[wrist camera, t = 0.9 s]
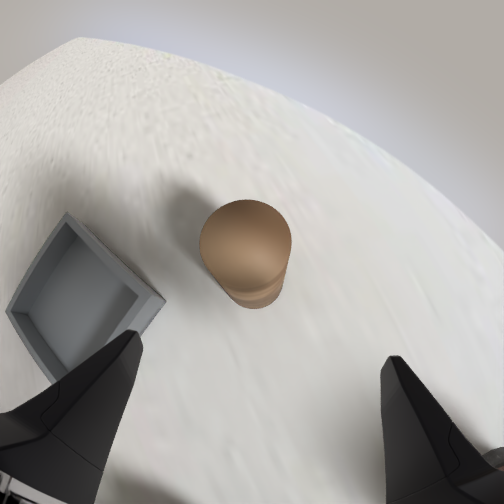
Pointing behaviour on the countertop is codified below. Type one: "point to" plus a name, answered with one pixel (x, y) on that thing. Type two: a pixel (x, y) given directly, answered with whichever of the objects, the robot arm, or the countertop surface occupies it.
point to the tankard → (495, 458)
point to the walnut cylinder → (247, 251)
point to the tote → (77, 300)
